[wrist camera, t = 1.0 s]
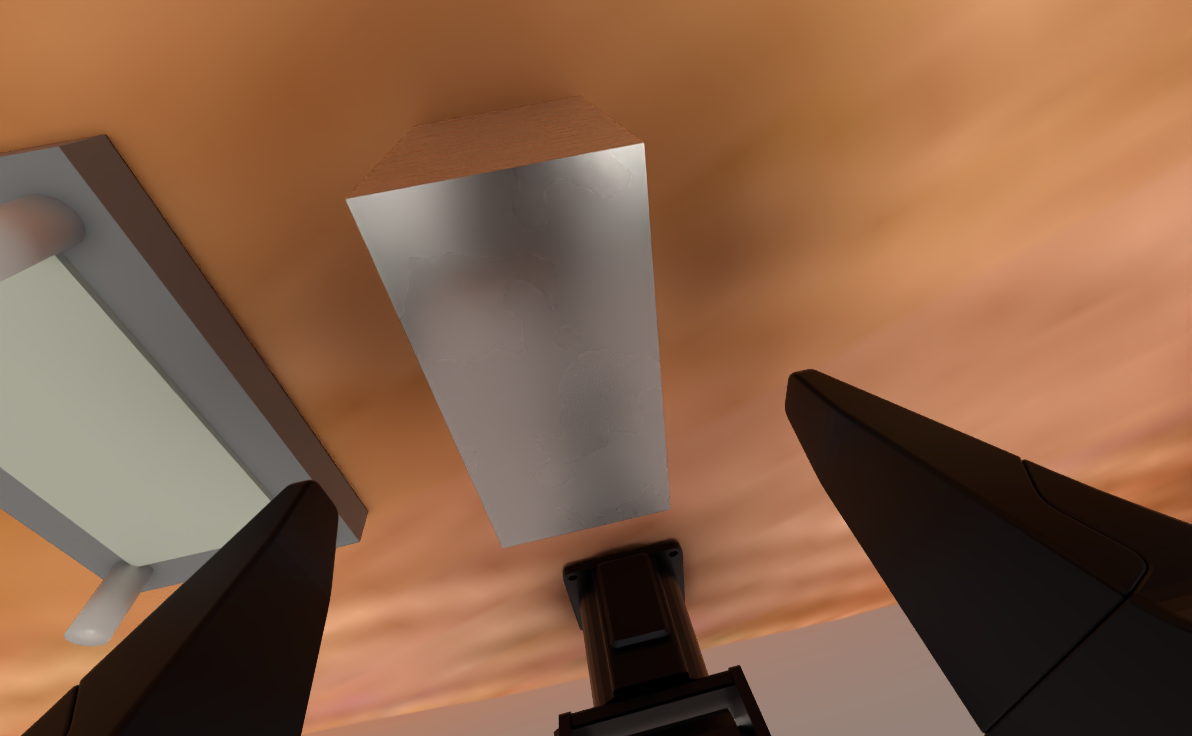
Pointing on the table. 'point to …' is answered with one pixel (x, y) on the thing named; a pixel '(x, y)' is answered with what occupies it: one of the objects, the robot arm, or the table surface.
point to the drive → (530, 307)
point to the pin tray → (130, 387)
